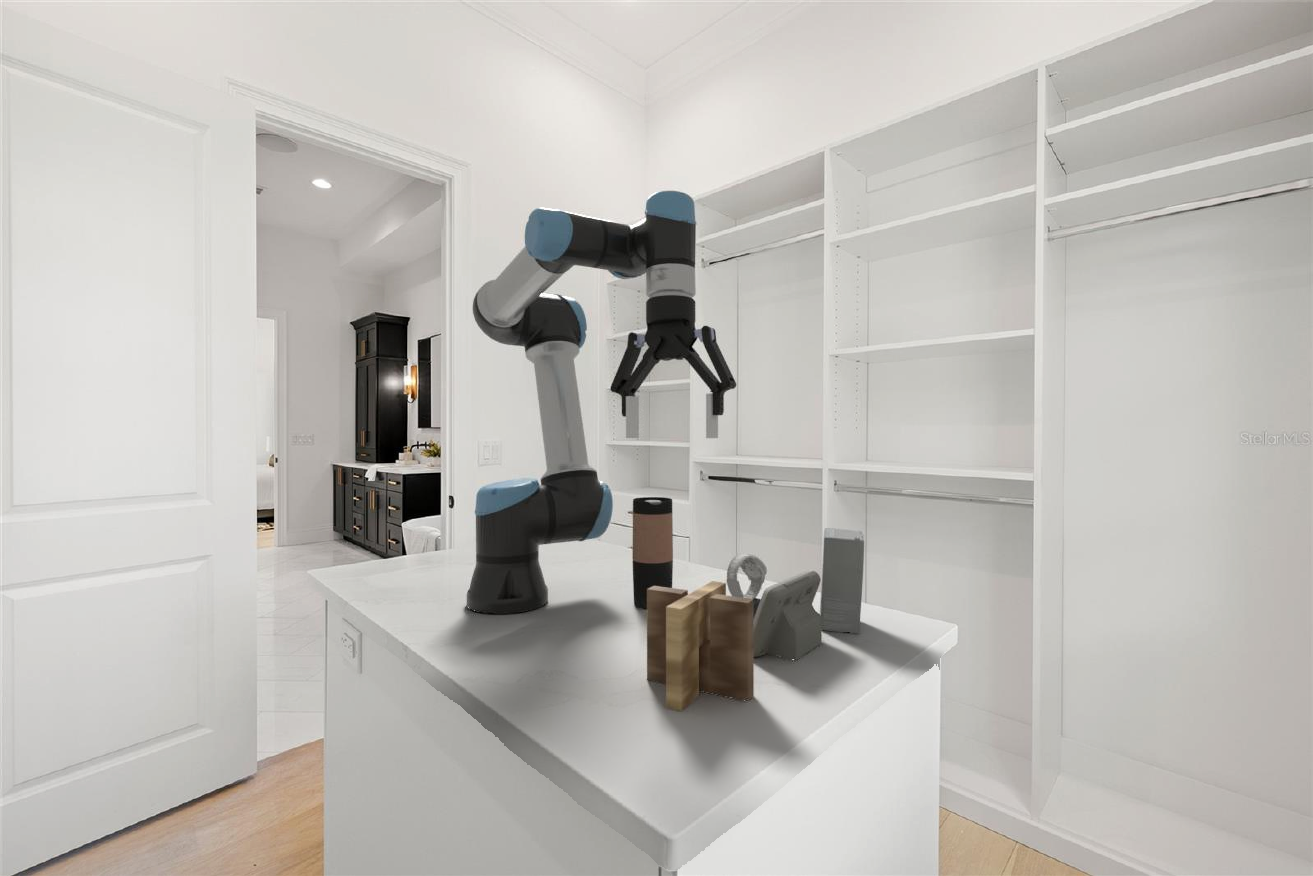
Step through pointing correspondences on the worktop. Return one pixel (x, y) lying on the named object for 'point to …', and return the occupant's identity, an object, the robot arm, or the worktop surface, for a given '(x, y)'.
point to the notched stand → (708, 643)
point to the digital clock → (788, 618)
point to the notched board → (687, 643)
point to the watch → (754, 573)
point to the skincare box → (842, 580)
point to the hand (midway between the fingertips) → (670, 438)
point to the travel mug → (651, 546)
